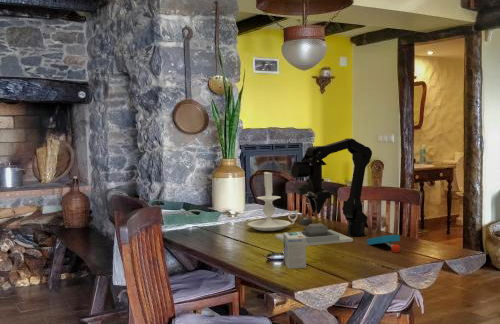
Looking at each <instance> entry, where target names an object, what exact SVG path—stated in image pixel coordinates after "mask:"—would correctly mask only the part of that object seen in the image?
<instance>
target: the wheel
mask: <svg viewBox="0 0 500 324" xmlns="http://www.w3.org/2000/svg"><path fill="white" fill-rule="evenodd" d="M298 221H299V223H298V224H299V225H300V226H309V224H313V219H311V218H308V217H303V218H300V219H299V220H298Z"/></svg>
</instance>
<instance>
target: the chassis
mask: <svg viewBox="0 0 500 324" xmlns="http://www.w3.org/2000/svg"><path fill="white" fill-rule="evenodd" d="M299 232H301V233H302V234H303V235H304V236H305V228H303V229H302V231H299ZM305 237H306V247H308V246H319V245H330V244H332V245H333V244H339V243H350V242H351V243H352V242H354V238H353V237H351V236H349V235H348V236H347V235H344V234H342V233H340V232H337V231H335V230H332V229H328V236H319V237H307V236H305ZM274 238H276V239H277V240H278V241H281V242H283V233H277V234H274Z"/></svg>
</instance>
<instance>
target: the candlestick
mask: <svg viewBox="0 0 500 324" xmlns="http://www.w3.org/2000/svg"><path fill="white" fill-rule="evenodd" d="M263 175H264V176H263V180H264V181H263V183H264V191H265V195H262V196H257V197H256V199H258V200H261V201H264V202H265V203H264V205H263V208H262V212H263V215H265V216H266V219H261V220H259V219H257V220H253V221H250V222H248V223H247V225H248V226H249V227H251V228H252V229H255V230H256V231H257V230H258V231H261V232H275V231H281V230H283V229H285V228H287V227H288V226H293V225H294V224H295V221H296V220H297V219H298V217H299V215H298V212H299V210H297V209H296V210H291V211H289V213H288V215H287V216H288V219H289V220H290V221H291V222H290V221H289V220H284V219H273V218H272V216H273V215H274V214H275V211H276V208H275V205H274V204H273V202H274V201H275V200H278V199H281V198H282V197H281V196H278V195H273V193H274V192H273V172H270V171H269V172H268V171H264V172H263ZM293 213H294V214H295V217H294V218H291V214H293Z"/></svg>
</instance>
